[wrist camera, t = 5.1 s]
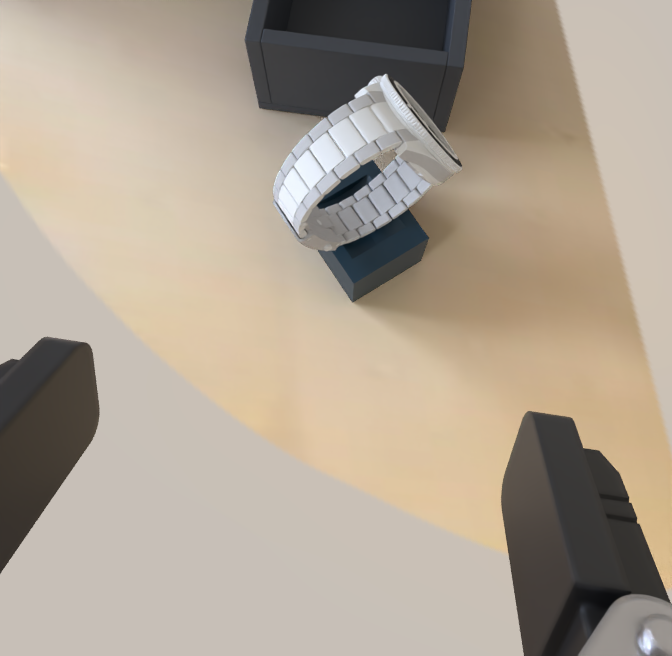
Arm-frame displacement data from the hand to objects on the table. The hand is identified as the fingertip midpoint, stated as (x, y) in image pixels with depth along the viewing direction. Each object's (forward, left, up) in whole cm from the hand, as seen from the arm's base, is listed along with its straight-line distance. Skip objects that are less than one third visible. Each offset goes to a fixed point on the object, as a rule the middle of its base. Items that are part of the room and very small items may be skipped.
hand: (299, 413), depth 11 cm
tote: (-2, +25, -20) cm, 32 cm away
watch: (0, +12, -20) cm, 23 cm away
